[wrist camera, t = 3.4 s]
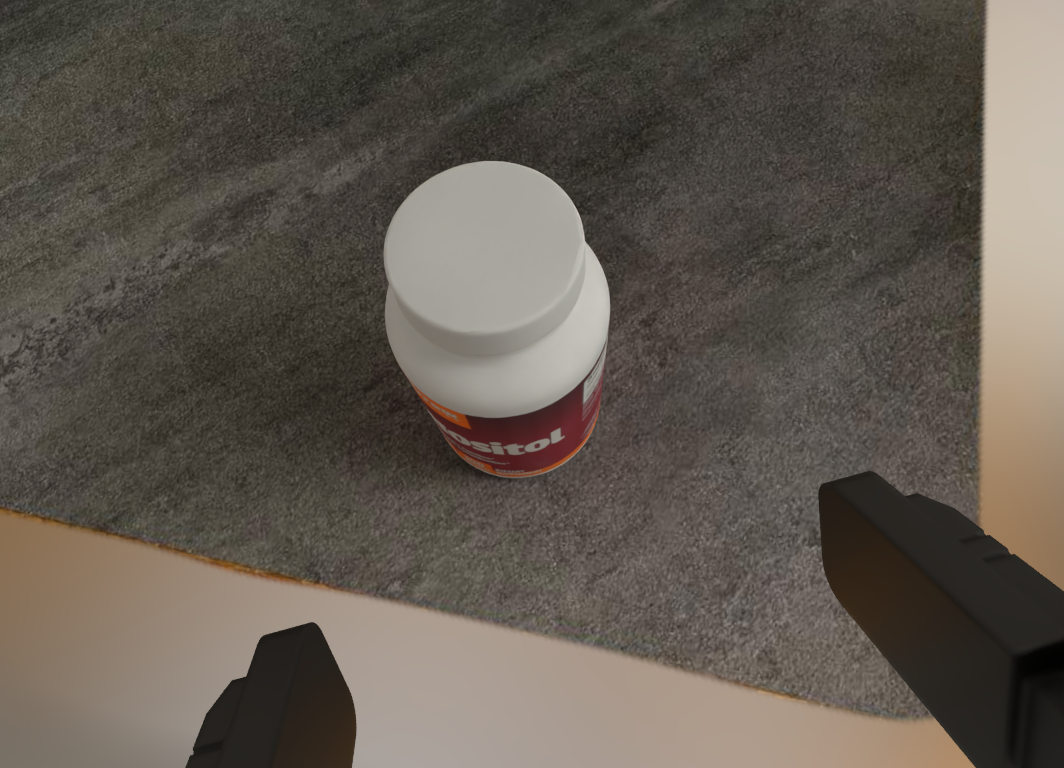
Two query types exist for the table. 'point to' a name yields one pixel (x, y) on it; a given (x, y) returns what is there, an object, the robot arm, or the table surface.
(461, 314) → the pill bottle
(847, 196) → the table surface
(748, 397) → the table surface
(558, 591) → the table surface
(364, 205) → the table surface
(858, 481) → the robot arm
